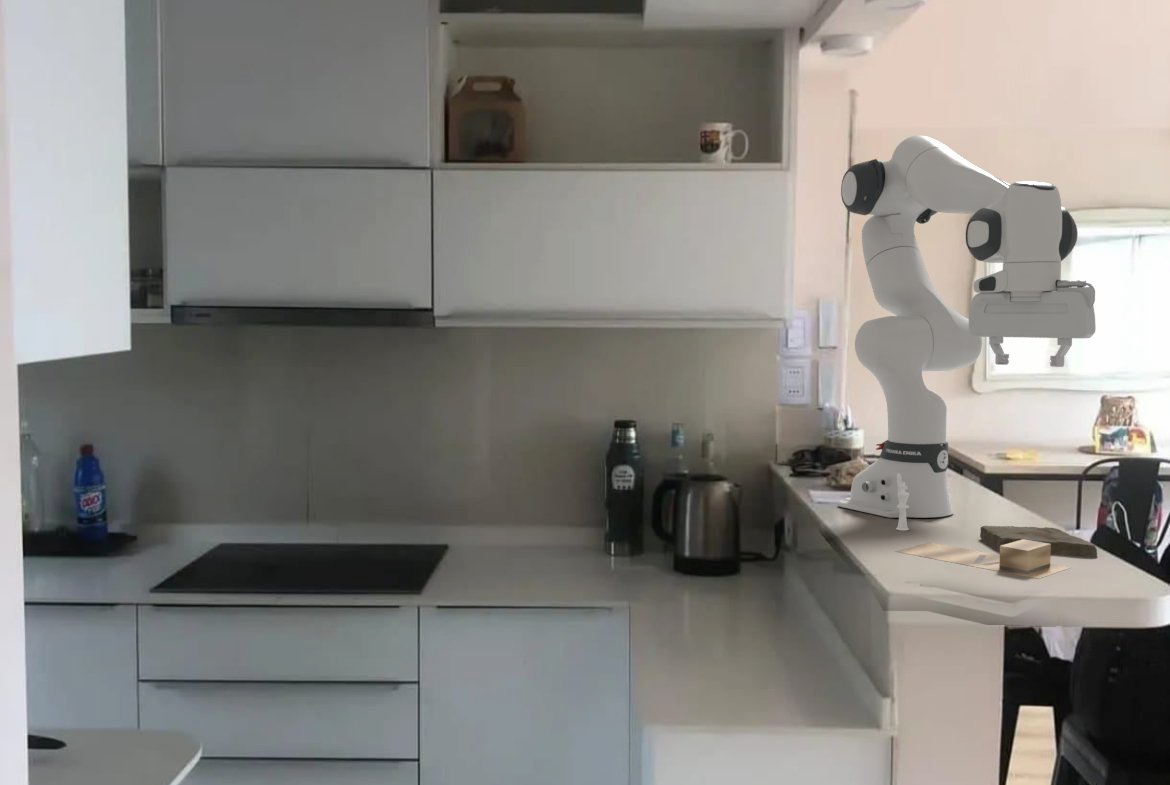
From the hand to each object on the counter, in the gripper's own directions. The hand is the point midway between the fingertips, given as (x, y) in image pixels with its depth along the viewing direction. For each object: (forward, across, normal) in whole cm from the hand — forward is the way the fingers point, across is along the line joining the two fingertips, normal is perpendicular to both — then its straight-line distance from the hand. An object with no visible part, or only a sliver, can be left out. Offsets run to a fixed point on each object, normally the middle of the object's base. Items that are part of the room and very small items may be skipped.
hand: (1029, 365), depth 180 cm
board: (+31, -1, +16) cm, 35 cm away
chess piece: (+31, +20, +5) cm, 37 cm away
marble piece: (+32, -2, 0) cm, 32 cm away
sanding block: (+30, -8, +16) cm, 35 cm away
